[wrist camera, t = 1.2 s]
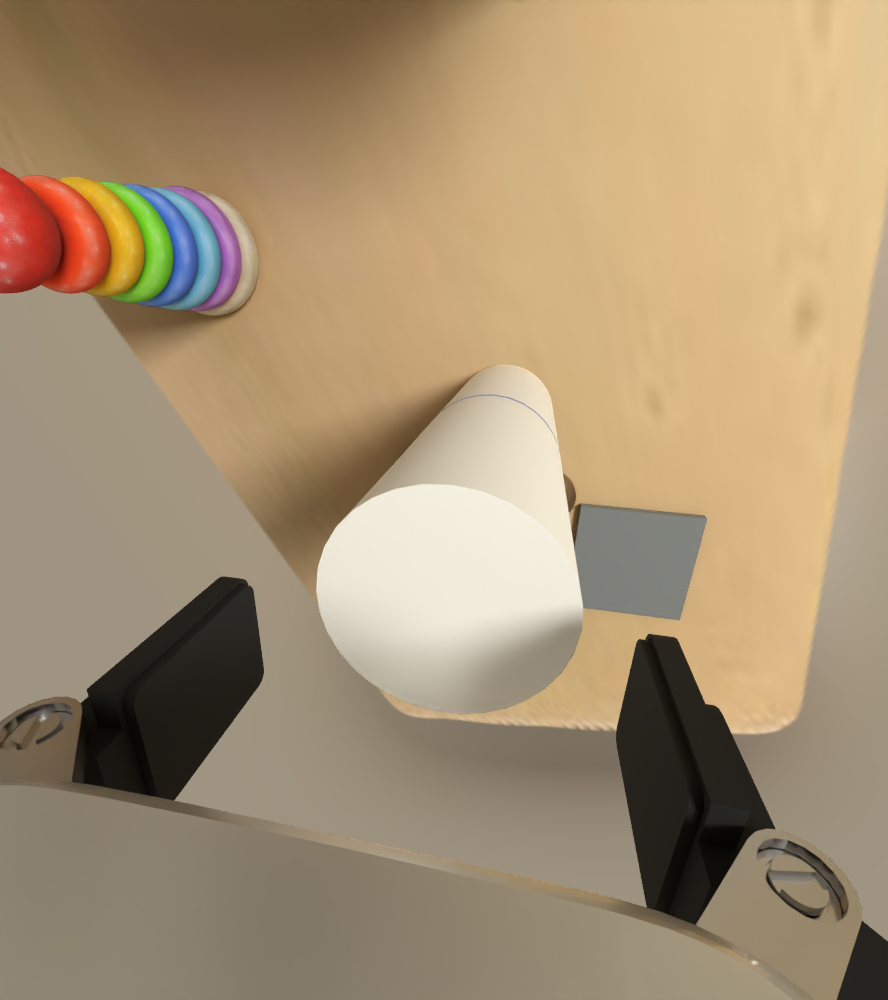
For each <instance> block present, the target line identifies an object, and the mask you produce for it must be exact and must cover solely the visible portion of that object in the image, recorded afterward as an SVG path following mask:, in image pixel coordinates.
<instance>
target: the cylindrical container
mask: <svg viewBox="0 0 888 1000" xmlns="http://www.w3.org/2000/svg"><path fill="white" fill-rule="evenodd" d="M316 592H317V598H318V604H319V610H320V614H321V617H322V619H323V622H324V624H325V627H326V630H327V632H328V634H329V635H330V637H331V639H332V641H333V642H334V644H335V646H336V647H337V649H338V651H339V652H340V653H341V654H342V655H343V657H344V658H345V659H346V660H347V661H348V663H349V664H350V665H351V666H352V667H353V668H354V669H355V670H356V671H357V672H359V673H360V674H361V675H362V676H363V677H364V678H366V679H367V680H368V681H369V682H371V683H372V684H373V685H375V686H377V687H378V688H380V689H381V690H383V691H385V692H386V693H388V694H389V695H391V696H394V697H396V698H398V699H400V700H403V701H405V702H407V703H410V704H412V705H415V706H419V707H423V708H426V709H430V710H434V711H439V712H448V713H457V714H470V713H486V712H491V711H496V710H500V709H505V708H508V707H511V706H513V705H516V704H518V703H521V702H524V701H526V700H528V699H529V698H531V697H533V696H534V695H536V694H537V693H539V692H541V691H542V690H544V689H545V688H546V687H547V686H548V685H549V684H550V683H552V682H553V681H554V680H555V679H556V678H557V677H558V676H559V675H560V674H561V673H562V671H563V670H564V668H565V667H566V665H567V664H568V662H569V661H570V659H571V658H572V656H573V654H574V652H575V649H576V646H577V643H578V640H579V637H580V634H581V631H582V617H583V603H582V596H581V590H580V583H579V577H578V570H577V563H576V557H575V550H574V544H573V537H572V531H571V524H570V518H569V511H568V504H567V498H566V491H565V485H564V478H563V472H562V465H561V459H560V452H559V446H558V439H557V433H556V427H555V421H554V414H553V408H552V402H551V398H550V395H549V393H548V391H547V389H546V387H545V386H544V384H543V383H542V382H541V381H540V380H539V378H538V377H537V376H535V375H534V374H532V373H531V372H530V371H528V370H526V369H523V368H521V367H518V366H513V365H496V366H492V367H488V368H486V369H484V370H481V371H480V372H478V373H477V374H475V375H474V376H473V377H472V378H471V379H470V380H469V381H468V382H467V383H466V384H465V385H464V386H463V387H462V389H461V390H460V391H459V392H458V393H457V394H456V395H455V396H454V398H453V399H452V400H451V401H450V402H449V403H448V404H447V405H446V406H445V407H444V408H443V410H442V411H441V412H440V413H439V414H438V415H437V416H436V417H435V418H434V419H433V421H432V422H431V423H430V424H429V425H428V426H427V427H426V428H425V429H424V431H423V432H422V433H421V434H420V435H419V436H418V437H417V438H416V440H415V441H414V442H413V443H412V444H411V445H410V446H409V447H408V449H407V450H406V451H405V452H404V453H403V454H402V455H401V456H400V458H399V459H398V460H397V461H396V462H395V463H394V464H393V465H392V466H391V467H390V468H389V470H388V471H387V472H386V473H385V474H384V475H383V476H382V477H381V478H380V479H379V481H378V482H377V483H376V484H375V485H374V486H373V487H372V488H371V489H370V490H369V492H368V493H367V494H366V495H365V496H364V497H363V498H362V499H361V500H360V501H359V502H358V504H357V505H356V506H355V507H354V508H353V509H352V510H351V511H350V512H349V513H348V515H347V516H346V517H345V518H344V519H343V520H342V521H341V522H340V523H339V524H338V526H337V527H336V528H335V530H334V531H333V533H332V535H331V536H330V538H329V540H328V541H327V543H326V545H325V546H324V549H323V553H322V556H321V559H320V562H319V566H318V571H317V588H316Z"/></svg>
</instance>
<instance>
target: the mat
mask: <svg viewBox="0 0 888 1000" xmlns="http://www.w3.org/2000/svg"><path fill="white" fill-rule="evenodd" d="M706 521H707V518H706V517H705V516H703V515H692V514H682V513H672V512H662V511H652V510H641V509H631V508H621V507H611V506H600V505H590V504H580V511H579V517H578V523H577V530H576V536H575V543H574V550H575V557H576V563H577V570H578V577H579V583H580V590H581V596H582V603H583V608H590V609H597V610H605V611H613V612H620V613H628V614H636V615H644V616H651V617H659V618H667V619H674V620H680V617H681V613H682V610H683V606H684V602H685V599H686V595H687V591H688V588H689V584H690V580H691V576H692V573H693V569H694V565H695V562H696V558H697V554H698V551H699V547H700V543H701V540H702V536H703V532H704V529H705V525H706Z"/></svg>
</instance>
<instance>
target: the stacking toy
mask: <svg viewBox="0 0 888 1000" xmlns="http://www.w3.org/2000/svg"><path fill="white" fill-rule="evenodd" d="M258 271H259V259H258V252H257V247H256V243H255V240H254V237H253V235H252V233H251V231H250V229H249V227H248V225H247V223H246V222H245V220H244V219H243V217H242V216H241V215H240V213H239V212H238V211H237V210H236V209H235V208H234V207H233V206H232V205H230V204H229V203H228V202H227V201H225V200H224V199H222V198H220V197H218V196H217V195H215V194H212V193H210V192H207V191H202V190H193V189H189V188H186V187H181V186H167V187H162V188H158V187H145V186H141V185H135V184H125V185H121V184H117V183H113V182H96V181H93V180H91V179H88V178H83V177H64V178H61V179H58V180H56V179H54V178H50V177H47V176H41V175H29V176H24V177H21V178H17V177H16V176H14V175H13V174H11V173H9V172H7V171H6V170H4V169H2V168H0V293H18V292H23V291H27V290H31V289H33V288H36V287H38V286H40V285H42V286H44V287H47V288H49V289H51V290H54V291H57V292H62V293H80V292H85V293H88V294H91V295H96V296H108V297H110V298H112V299H114V300H117V301H121V302H128V303H139V304H141V305H146V306H153V307H161V308H165V309H169V310H189V311H195V312H198V313H201V314H205V315H211V316H220V315H225V314H228V313H231V312H233V311H235V310H237V309H238V308H240V307H241V306H242V305H244V304H245V302H246V301H247V300H248V299H249V297H250V296H251V294H252V292H253V291H254V288H255V286H256V282H257V278H258Z"/></svg>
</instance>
